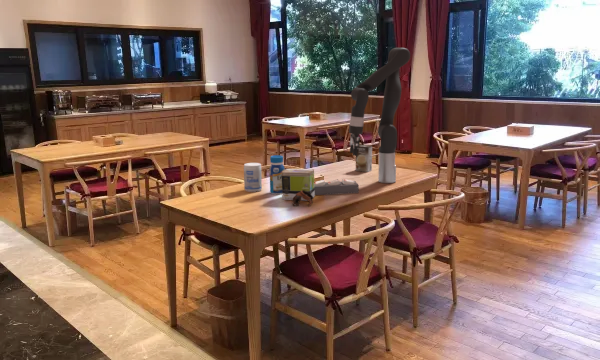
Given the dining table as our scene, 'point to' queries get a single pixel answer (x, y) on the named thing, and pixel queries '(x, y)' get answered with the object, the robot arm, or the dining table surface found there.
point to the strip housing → (337, 189)
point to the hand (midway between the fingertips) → (353, 154)
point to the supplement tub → (252, 177)
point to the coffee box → (364, 158)
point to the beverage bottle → (276, 174)
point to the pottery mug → (303, 195)
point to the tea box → (297, 182)
